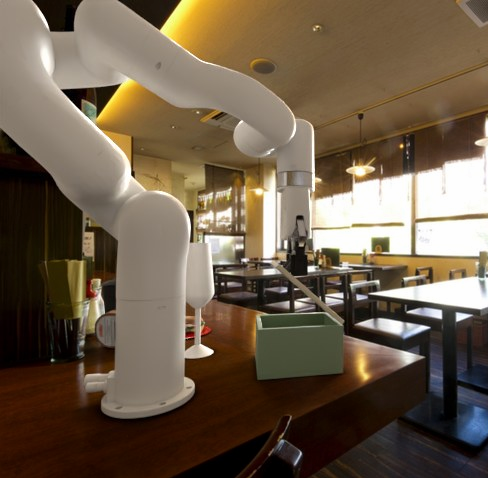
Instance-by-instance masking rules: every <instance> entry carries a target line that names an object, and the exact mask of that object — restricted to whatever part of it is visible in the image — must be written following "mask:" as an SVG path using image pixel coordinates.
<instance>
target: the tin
mask: <svg viewBox="0 0 488 478" xmlns="http://www.w3.org/2000/svg"><path fill="white" fill-rule="evenodd" d="M115 334H116V310H112V311H109V312H107V313H105V312H104V313H103V314H101V315H100V316H99V317H98V318H97V319H96V320H95V322H94V336H95V339H96V341H97V342H98V343H99V344H100V345H101V346H103V347H104V348H109V349H115Z"/></svg>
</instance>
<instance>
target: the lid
mask: <svg viewBox="0 0 488 478" xmlns="http://www.w3.org/2000/svg"><path fill="white" fill-rule="evenodd" d="M290 255H292V253H290V254H289V260H288V261H287V262H286V261H285V263H284V264H283V265H281V264H280V263H278V262H276V261H274V260H272V261H271V262H270V265H272V266H273V267H274V268H275V269H276V270H277V271H278V272H279V273H281V274H282V275H283V276H284V277H285V278H286V279H288V280H289V281H290V282H291V283H292V284H293V285H295V287H297V288H298V289H299V290H300V291H302V292H303V294H305V295H306V296H307V297H308V298H309V299H311V300H312V301H313V302H314V303H315V304H316V305H318V306H319V307H320V308H321V309H322V310H323V311H324V312H327V313H328V314H329V315H331V316H332V317H333V318H334V319H336V320H337V321H338V322H339V323H341V324H342V325H343V324H344V323H345V320H344V319H343V318H341V316H339V315H338V314H337V312H335V311H334V310H332V309H331V307H329V305H327V304H325V302H324V301H322V300H321V299H320V298H319V297H318V296H317V295H315V294H314V293H313V292H312V291H311V290H310V289H308V287H306V286H305V285H304V284H303V283H302V282H301V281H300V280H299V279H297V277H296V276H292V275H291V273H289V272H288V271H289V269H290V268H291V256H290Z"/></svg>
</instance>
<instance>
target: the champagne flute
mask: <svg viewBox="0 0 488 478" xmlns="http://www.w3.org/2000/svg"><path fill="white" fill-rule="evenodd" d="M212 258H213V257H212V245H211V242H189V249H188V256H187V267H186V304H188V306H190V307H191V308H193V309H194V317H195V337H194V345H191V346H190V347H189V348H187V349H185V359H200V358H201V359H202V358H206V357H209V356H212V354H214V350H213V349H211V348H209V347H208V346H205V345H203V344H201V336H202V335H201V318H202V308H204V307H205V306H206V305H207V304H208V303H209V302H210V301H211V300H212V299H213V297H214V295H215V282H214V281H215V280H214V269H213V259H212Z"/></svg>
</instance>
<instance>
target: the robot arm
mask: <svg viewBox="0 0 488 478" xmlns="http://www.w3.org/2000/svg"><path fill="white" fill-rule="evenodd" d="M129 80H132V81H133V82H135V83H137V84H138V85H140V86H142V87H143V88H145V89H147V91H149V92H151V93H152V94H154V95H156V96H157V97H159V98H161V99H162V100H164V102H167V103H168V104H170V105H172V106H174V107H176V108H180V109H210V110H216V111H218V112H222V113H224V114H225V113H226V114H228V115H231V116H233V117H234V118H236V119H238V120H240V121H239V122H238V124H236V126H235V128H234V131H233V142H234V145H235V146H236V148H237V150H239V152H240V153H242V154H243V155H246V156H248V157H251V158H275V159H276V192H277V193H279V194H281V199H280V236H279V237H280V238H279V239H280V240H281V241H286V253H285V258H286V259H285V263H286V262H287V261H288V260H289V254H290V253H292V255H290V256H291V268H290V269H289V271H288V272H289V273H290V274H291V275H292V276H294V277H307V276H308V275H309V272H308V271H309V264H308V263H309V261H308V258H309V257H308V256H309V255H308V243H307V241H308V240H309V239H310V237H311V195H310V194H312V193H315V192H316V191H315V129H314V126H313V124H311V122H309V121H307V120H305V119H300V118H295V115H294V113H293V111H292V110H291V109H290V107H289V106H288V105H287V104H286V103H285V101H284V100H283V99H281V98H280V97H279V96H277V94H275V93H274V92H273V91H272V90H271V89H269V88H267V87H266V86H265V85H264V84H262V83H261V82H259V81H258V80H257V79H254V78H253V77H251V76H249V75H247V74H245V73H242V72H240V71H237V70H234V69H231V68H227V67H225V66H222V65H218V64H214V63H211V62H206V61H203V60H201V59H199V58H198V57H196V56H195V55H194V54H192V53H190V51H188V50H187V49H186V48H184V47H183V46H181V45H180V44H178V43H177V42H176V41H175V40H173V39H172V38H170V36H168V35H166V34H165V33H164V32H162V31H161V30H160V29H158V28H157V27H155V26H154V25H153V24H152V23H150V22H148V21H147V20H146V19H144V17H141V16H140V15H139V14H137V13H136V12H135V11H134V10H132V9H131V8H129V7H128V6H127V5H125V4H124V3H122V2H121V1H119V0H82V1H81V2H80V3H79V5H78V6H77V9H76V10H75V15H74V20H73V31H51V30H50V27H49V25H48V22H47V20H46V18H45V16H44V14H43V13H42V11H41V10H40V8H39V7H38V5H37V4H36V3H35V2H34V1H33V0H0V129H1V130H2V131H3V132H4V133H6V135H8V136H9V138H11V139H12V140H13V142H15V143H16V144H17V145H18V146H19V147H20V148H21V149H22V150H24V151H25V152H26V153H27V154H28V155H29V156H30V157H31V158H33V159H34V160H35V161H36V162H37V163H38V164H40V166H42V167H43V168H44V169H45V170H46V171H47V172H48V173H49V174H50V176H51V177H52V178H53V180H54V182H55V184H56V186H57V187H58V189H59V190H60V192H61V193H62V194H63V195H64V196H65V197H66V199H68V200H69V201H70V202H72V204H74V205H75V206H76V207H77V208H78V209H79V210H81V211H82V212H83V213H84V214H86V215H87V216H88V217H89V218H90V219H91V220H92V221H94V222H95V223H96V224H97V225H98V226H99V227H101V228H102V229H103V230H104V231H106V232H107V233H108V234H109V235H111V236H112V237H113V238H114V239H115V240H117V255H116V275H115V276H116V277H115V278H116V334H115V348H114V370H110V371H109V372H108V373H89V374H88V373H87V374H86V375H85V376H84V378H83V381H82V386H83V389H84V392H85V393H86V394H89V393H91V394H92V393H97V392H102V393H103V394H104V395H103V396H102V397H101V400H100V401H101V402H100V410H101V412H102V413H103V414H104V415H106V416H108V417H111V418H115V419H121V420H122V419H123V420H130V419H132V420H133V419H134V420H135V419H143V418H148V417H153V416H158V415H161V414H165V413H167V412H171V411H173V410H175V409H178V408H180V407H182V406H183V405H184V404H186V403H188V401H190V400H191V399H192V398H193V396H194V394H195V390H196V386H195V382H194V380H192V379H191V378H189V377H186V376H185V366H186V365H185V363H186V358H185V351H186V338H185V316H186V311H187V309H186V307H187V306H186V304H187V302H186V267H187V256H188V249H189V243H191V241H190V240H191V219H190V216H189V213H188V211H187V208H186V207H185V205H184V204H183V203H182V201H180V200H179V199H178V198H177V197H175V196H173V195H172V194H170V193H169V192H168V193H167V192H165V191H161V190H147V189H145V187H143V185H142V184H140V182H138V181H137V179H135V178H134V176H132V167H131V162H130V160H129V158H128V157H127V155H126V153H125V152H124V151H123V150H122V149H121V148H120V147H119V146H118V145H117V144H116V143H115V142H113V140H112V139H110V138H109V137H108V136H107V135H106V134H105V133H104V132H103V131H102V130H101V129H100V128H99V127H97V125H95V123H93V122H92V121H91V120H90V119H89V117H87V116H86V115H85V114H84V113H83V112H82V110H80V109H79V108H78V107H77V106H76V105H75V104H74V103H73V101H71V100H70V98H69V97H68V96H67V95H66V94H65V93H64V92H63V91H62V90H71V89H72V90H73V89H88V88H101V87H103V88H104V87H109V86H116V85H120V84H123V83H126V82H127V81H129Z"/></svg>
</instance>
